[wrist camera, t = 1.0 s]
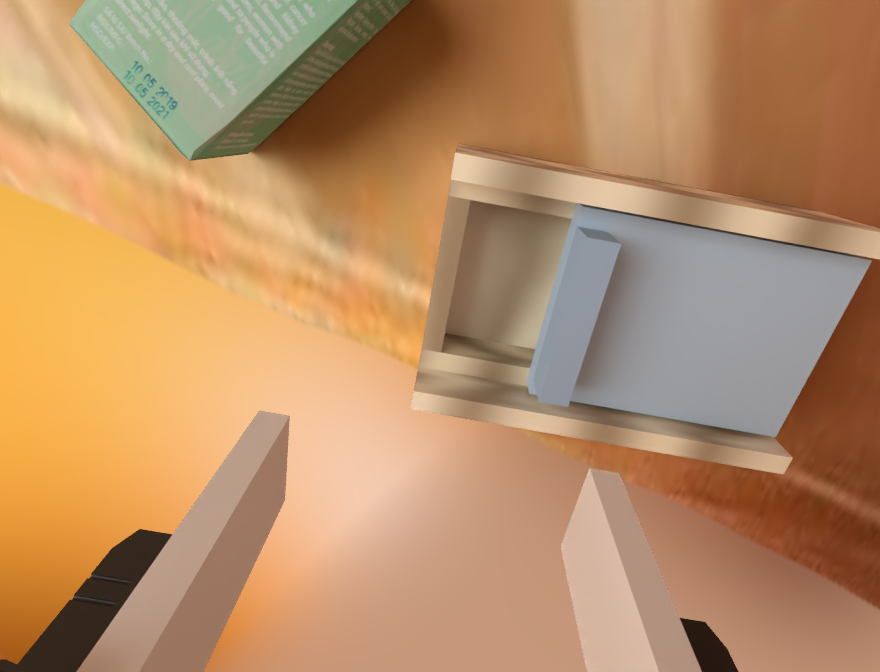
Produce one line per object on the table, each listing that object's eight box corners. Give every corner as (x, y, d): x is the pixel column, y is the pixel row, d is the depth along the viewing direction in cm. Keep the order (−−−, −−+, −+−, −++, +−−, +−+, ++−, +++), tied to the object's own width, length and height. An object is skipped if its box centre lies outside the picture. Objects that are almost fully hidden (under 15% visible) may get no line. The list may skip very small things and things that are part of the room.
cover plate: (526, 381, 31) (533, 417, 27) (576, 201, 26) (593, 216, 23) (762, 422, 31) (801, 464, 28) (851, 252, 27) (912, 275, 23)
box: (427, -10, 26) (412, -53, 20) (252, 156, 30) (188, 168, 23) (333, -152, 24) (279, -256, 17) (158, 46, 28) (58, 24, 21)
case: (421, 354, 35) (410, 409, 29) (458, 143, 29) (455, 152, 23) (726, 409, 36) (783, 474, 29) (822, 212, 30) (918, 239, 23)
